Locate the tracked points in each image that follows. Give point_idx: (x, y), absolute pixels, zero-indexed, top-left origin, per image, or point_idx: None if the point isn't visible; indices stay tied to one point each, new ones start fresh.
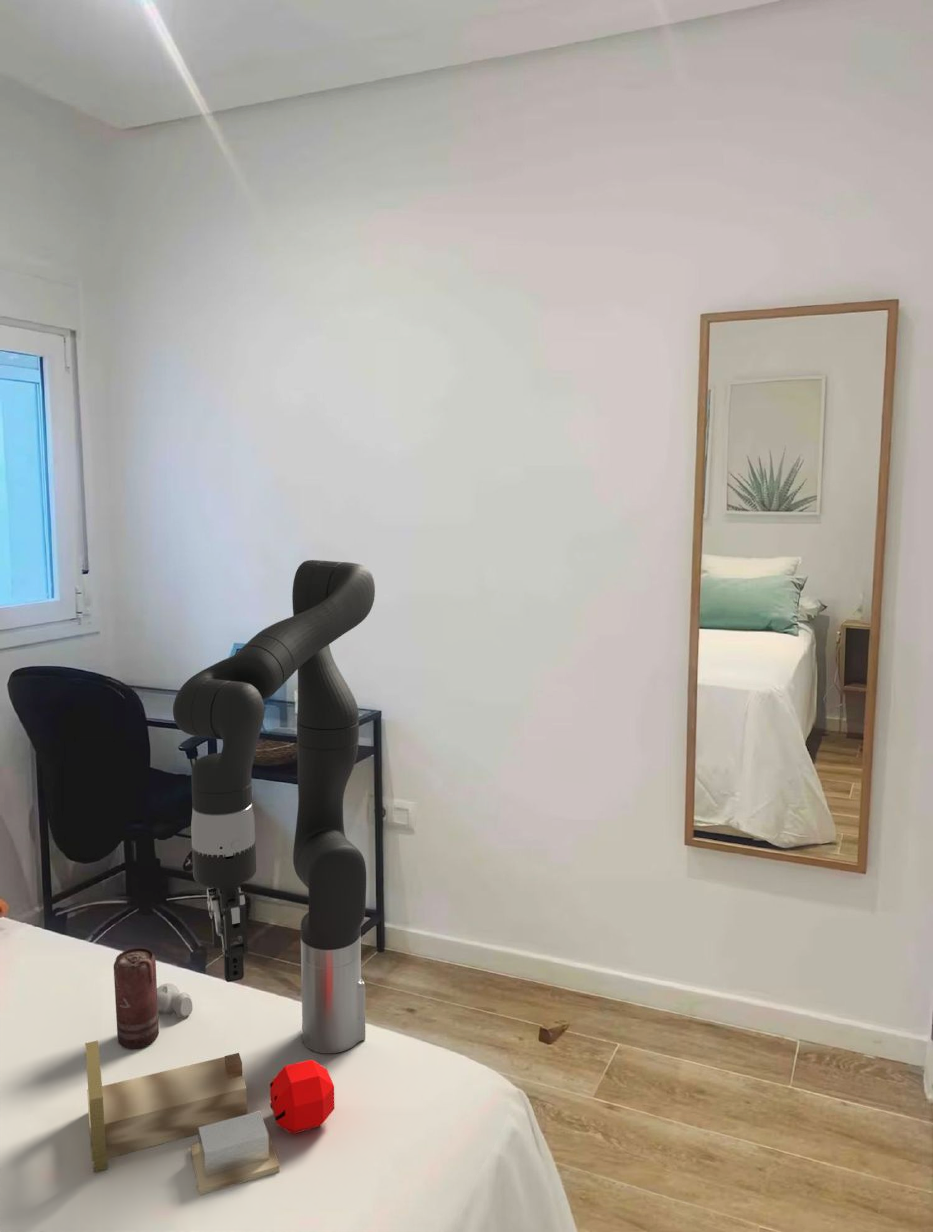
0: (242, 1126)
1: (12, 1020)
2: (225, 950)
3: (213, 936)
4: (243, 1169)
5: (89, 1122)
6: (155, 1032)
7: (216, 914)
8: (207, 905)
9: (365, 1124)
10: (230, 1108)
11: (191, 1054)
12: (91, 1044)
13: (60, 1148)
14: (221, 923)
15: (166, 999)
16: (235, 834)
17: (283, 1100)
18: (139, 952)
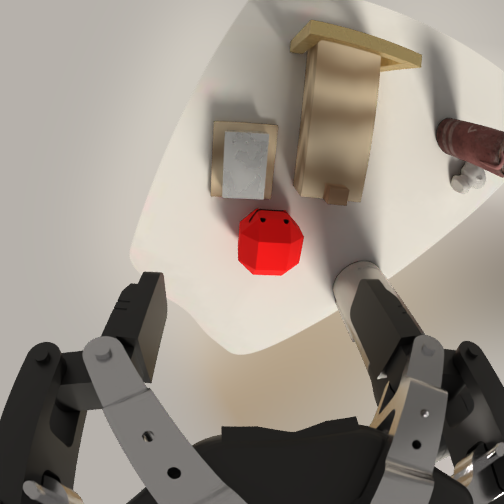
0: (247, 176)
1: (498, 68)
2: (36, 361)
3: (378, 299)
4: (220, 164)
5: None
6: (444, 148)
7: (154, 494)
8: (470, 345)
9: (235, 274)
10: (299, 173)
11: (408, 167)
12: (416, 58)
13: None
14: (223, 429)
15: (471, 173)
16: None
17: (253, 225)
18: None
